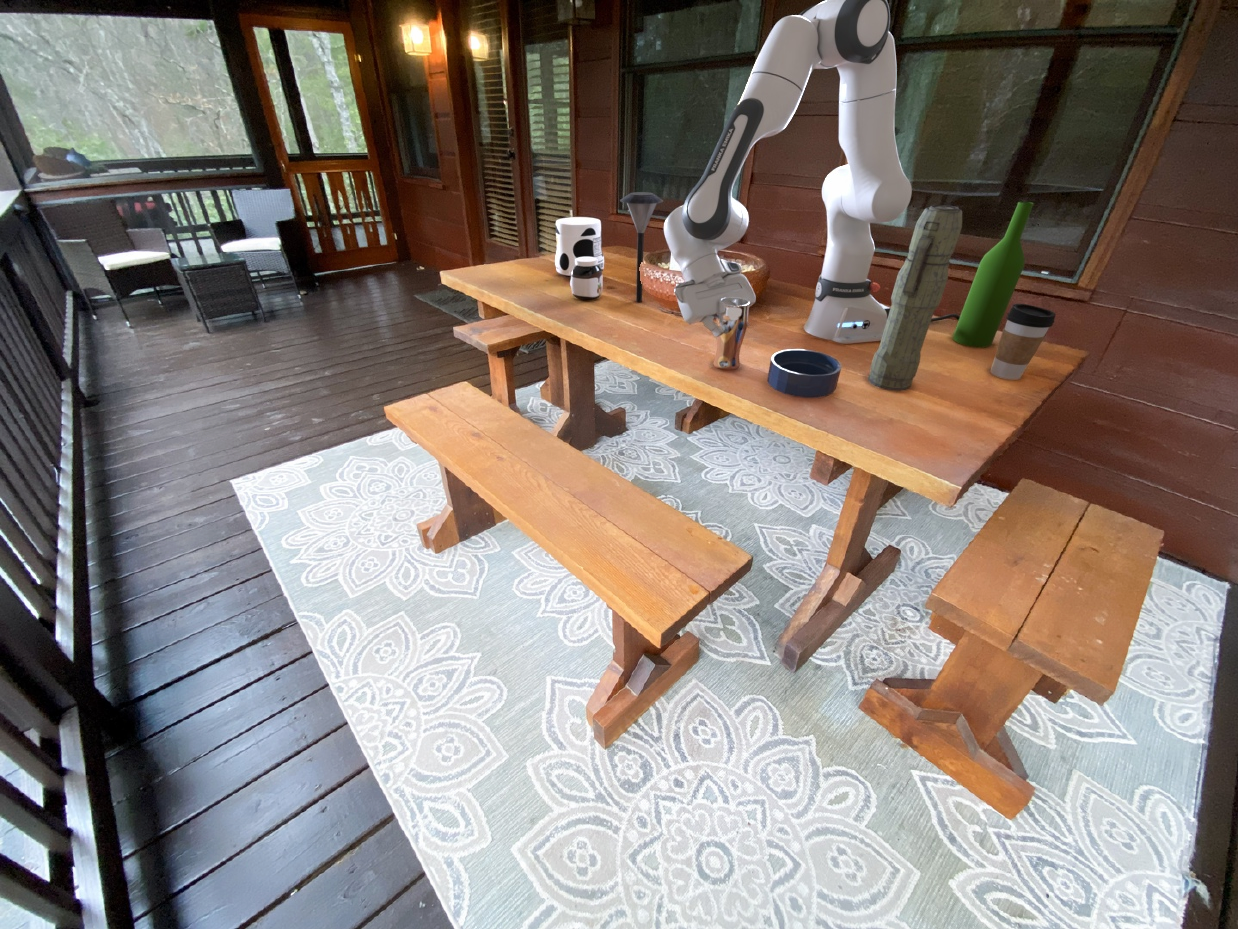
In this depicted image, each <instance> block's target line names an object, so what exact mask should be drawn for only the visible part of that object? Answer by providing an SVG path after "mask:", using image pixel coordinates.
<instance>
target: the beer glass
mask: <svg viewBox="0 0 1238 929" xmlns="http://www.w3.org/2000/svg"><path fill="white" fill-rule="evenodd" d="M723 300H729V301H731V302H733V303H734V304H735V305H736V306H732V305H726V304H723V303H722V302H721V301H723ZM749 303H750V302H749V301H748V300H746V299H743V298H738V297H726V298H722V299H720V300H719V305H718V313H717V316H716V318H715V323H716V324H717V325H718V326H721V328H722V330H723V331H724V333H723V334H722V335H721V336H719V337H715V340H716V341H715V342H716V350H715V356H714V359H713V362H712V366H713V367H714V368H715V369H717V370H718V371H719V370H720V371H725V372H732V371H736V370H738V369H739V368H740V365H741V363H740V362H741V361H740V354H741V353H740V352H741V348H742V345H743V341H744V339H745V337H746V336H745V335H746V332H747V328H748V327H747V324H748V323H749V315H750V307H749Z"/></svg>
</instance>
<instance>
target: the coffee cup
mask: <svg viewBox="0 0 1238 929" xmlns="http://www.w3.org/2000/svg"><path fill="white" fill-rule="evenodd" d="M1005 318H1006V322H1005V326H1004V327H1003V329H1002V333H1001V335H1000V339H999V342H998V346H997V349H996V352H995V355H994V358H993V362H992V365H991V367H990V372H989V373H990V374H991V375H993V376H995V377H997V378H999V379H1003V380H1008V381H1009V380H1010V381H1015V380H1019V379H1021V377H1022V376H1023V374H1024V373H1025V371H1026V369H1027V367H1028V365H1029V364H1030V362H1031V361H1032V359H1033V358H1034V356H1035V354H1036V352H1037V350H1038V349H1039V347H1040V346H1041V344H1042V343H1043V341H1044V339H1045V337H1046V333H1047V332H1048V330H1049V328H1052V326H1053V325H1054V323H1055V319H1056V312H1054V311H1052V310H1049V309H1047V308H1045V307H1039V306H1035V305H1031V304H1026V303H1015V304H1012V306H1011V308H1010V309H1009V311H1008V312H1007V315H1006V317H1005Z"/></svg>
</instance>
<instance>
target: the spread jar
mask: <svg viewBox="0 0 1238 929" xmlns="http://www.w3.org/2000/svg"><path fill="white" fill-rule="evenodd" d="M575 264H576V266H575V267H574V269H573V271H572V274H571V278H570V280H569V285H570V288H571V294H572V296H573V297H574V298H576V299H577V300H579V301H583V302H591V301H596V300H598V299H599V298H600V297H601V295H602V293H603V287H604V286H603V285H604V281H603V280H604V278H603V271H602V270H601V268H600V267H599V266H598V265H597V264H598V259H597V258H595V257H578V258H576V259H575Z"/></svg>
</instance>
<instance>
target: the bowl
mask: <svg viewBox="0 0 1238 929" xmlns="http://www.w3.org/2000/svg"><path fill="white" fill-rule="evenodd" d="M841 371H842V364H841V362H840V361H839V360H838V359H836V358H835V357H833V356H832V355H830V354H828V353H827V354H826V353H824V352H821V351H815V350H812V349H803V348H792V349H791V348H789V349H782V350H779V351H776V352H775V353H773V354H772V355H771V356H770V362H769V368H768V373H767V379H766V380H767V383H768V384H769V386H770V387H772V388H773V389H774V390H775V391H777V392H779V393H782V394H785V395H788V396H792V397H798V398H804V399H819V398H824V397H828V396H830V395H832V394H833V393H834V392H835V391H836V389H837V387H838V384H839V383H838V382H839V379H840V375H841Z"/></svg>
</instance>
